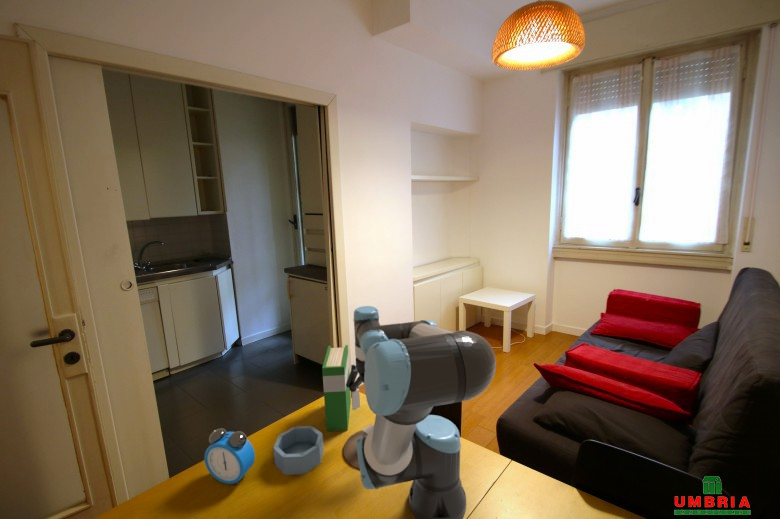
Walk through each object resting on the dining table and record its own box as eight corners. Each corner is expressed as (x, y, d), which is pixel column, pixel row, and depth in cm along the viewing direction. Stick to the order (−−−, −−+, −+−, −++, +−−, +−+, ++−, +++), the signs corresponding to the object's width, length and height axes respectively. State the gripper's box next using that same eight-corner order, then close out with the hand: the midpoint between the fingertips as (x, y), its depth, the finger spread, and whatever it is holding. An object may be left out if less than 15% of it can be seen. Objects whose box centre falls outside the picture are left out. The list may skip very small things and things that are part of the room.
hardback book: (332, 402, 144) (328, 345, 140) (350, 401, 145) (347, 344, 140) (326, 431, 127) (322, 368, 122) (347, 430, 127) (344, 367, 123)
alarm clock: (206, 480, 107) (199, 435, 104) (221, 465, 112) (215, 422, 110) (245, 489, 103) (239, 442, 100) (258, 472, 109) (253, 428, 106)
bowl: (331, 456, 115) (330, 439, 114) (292, 482, 105) (290, 464, 104) (306, 436, 125) (305, 420, 124) (268, 458, 115) (266, 441, 114)
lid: (410, 448, 118) (410, 428, 117) (370, 480, 106) (369, 458, 104) (372, 424, 130) (372, 406, 129) (332, 451, 118) (331, 431, 116)
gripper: (406, 364, 106) (407, 428, 110) (351, 340, 123) (353, 396, 127) (388, 374, 100) (389, 441, 105) (333, 348, 118) (336, 406, 122)
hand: (370, 417), depth 116 cm, fingers open, 13 cm apart
